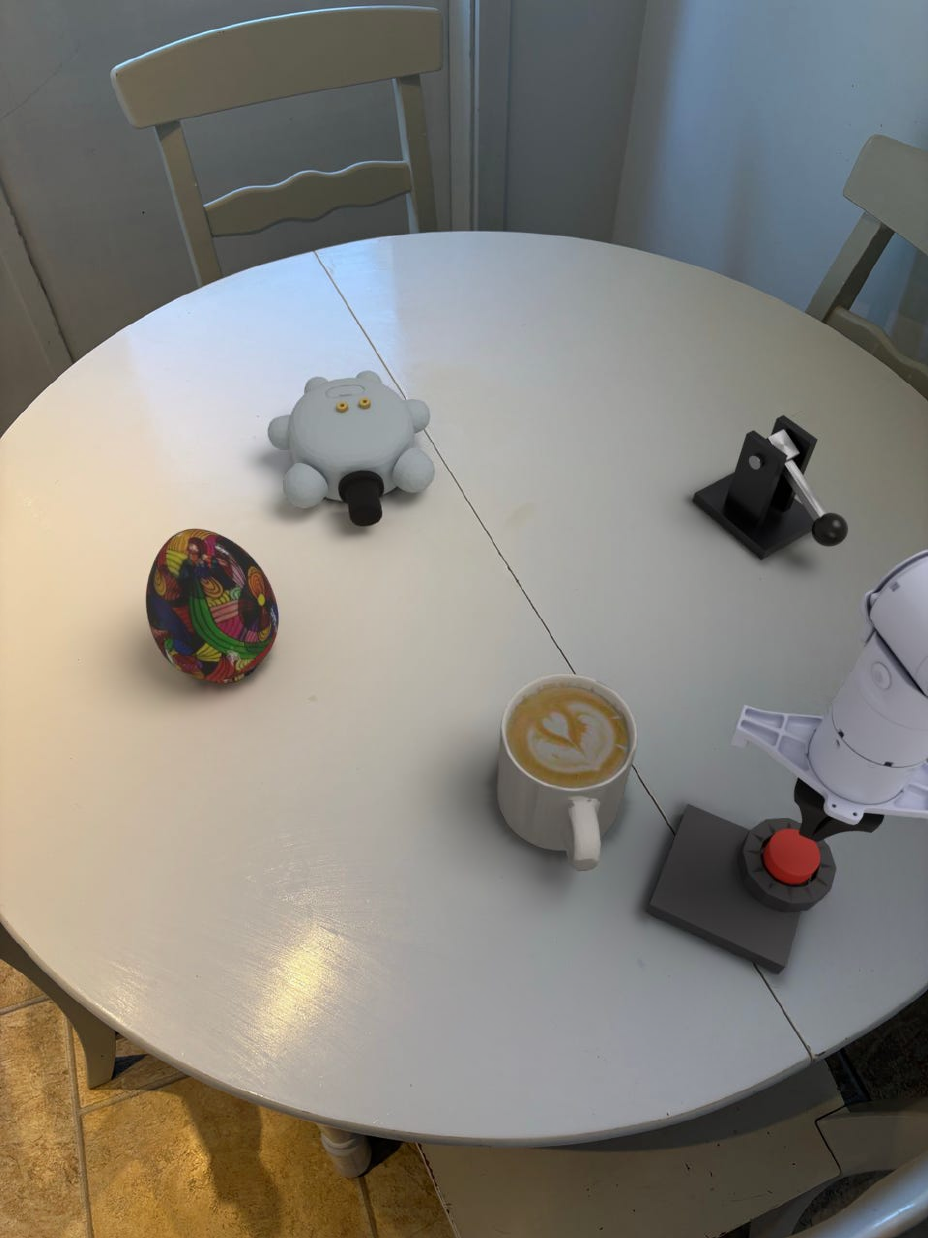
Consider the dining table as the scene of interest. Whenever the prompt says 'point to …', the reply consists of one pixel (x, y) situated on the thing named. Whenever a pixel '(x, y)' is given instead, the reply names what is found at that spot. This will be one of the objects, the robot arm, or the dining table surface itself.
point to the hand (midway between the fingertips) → (811, 826)
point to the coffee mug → (565, 763)
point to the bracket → (761, 493)
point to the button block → (735, 887)
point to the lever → (810, 496)
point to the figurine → (352, 445)
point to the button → (791, 857)
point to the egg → (210, 607)
